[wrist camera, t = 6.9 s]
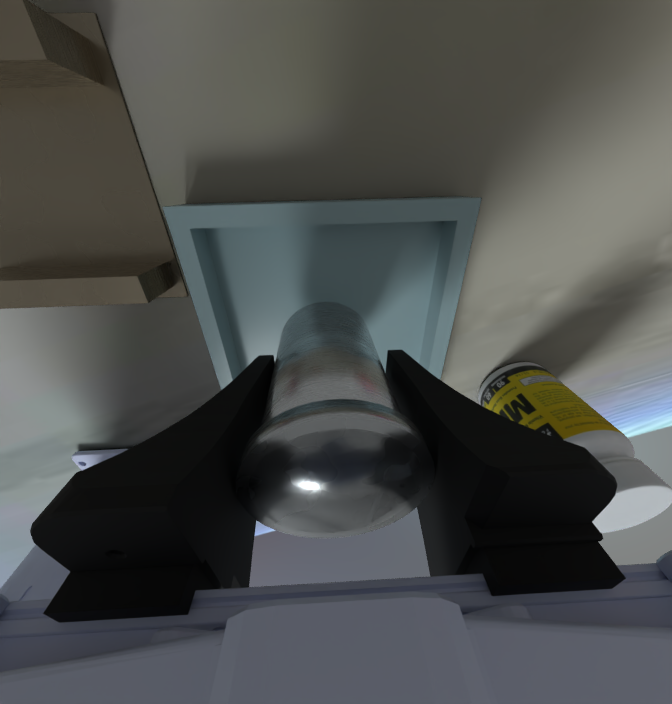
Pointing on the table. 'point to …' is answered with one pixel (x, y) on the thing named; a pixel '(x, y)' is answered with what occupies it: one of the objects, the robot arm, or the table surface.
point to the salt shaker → (332, 435)
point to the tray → (324, 270)
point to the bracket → (72, 172)
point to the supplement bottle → (578, 438)
